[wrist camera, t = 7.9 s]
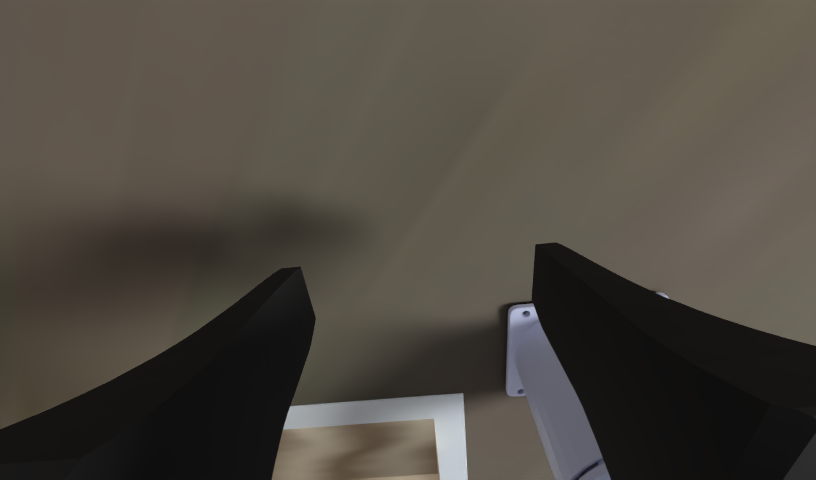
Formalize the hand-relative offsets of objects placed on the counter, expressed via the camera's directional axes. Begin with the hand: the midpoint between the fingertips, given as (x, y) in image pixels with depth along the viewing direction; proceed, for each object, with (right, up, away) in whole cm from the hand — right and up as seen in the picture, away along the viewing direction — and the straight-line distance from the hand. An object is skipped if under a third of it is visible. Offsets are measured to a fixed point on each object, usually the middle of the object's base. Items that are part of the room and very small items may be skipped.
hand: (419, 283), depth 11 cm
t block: (-4, -18, +19) cm, 27 cm away
